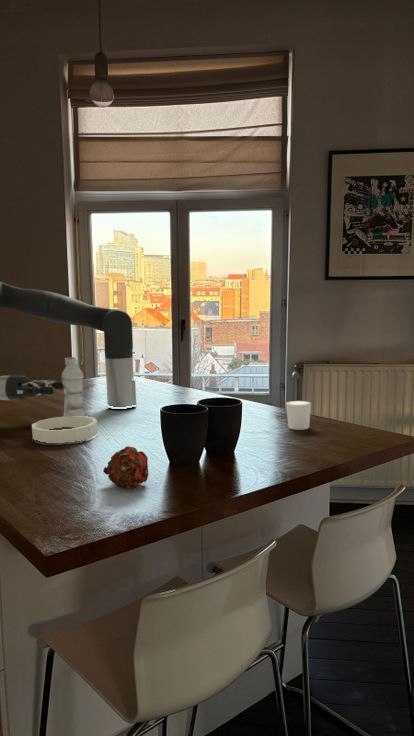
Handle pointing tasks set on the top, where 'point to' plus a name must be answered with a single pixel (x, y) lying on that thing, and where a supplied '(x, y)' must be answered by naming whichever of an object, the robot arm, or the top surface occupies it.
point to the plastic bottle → (73, 388)
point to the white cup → (298, 414)
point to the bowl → (81, 430)
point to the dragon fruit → (127, 468)
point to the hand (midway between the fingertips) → (59, 387)
